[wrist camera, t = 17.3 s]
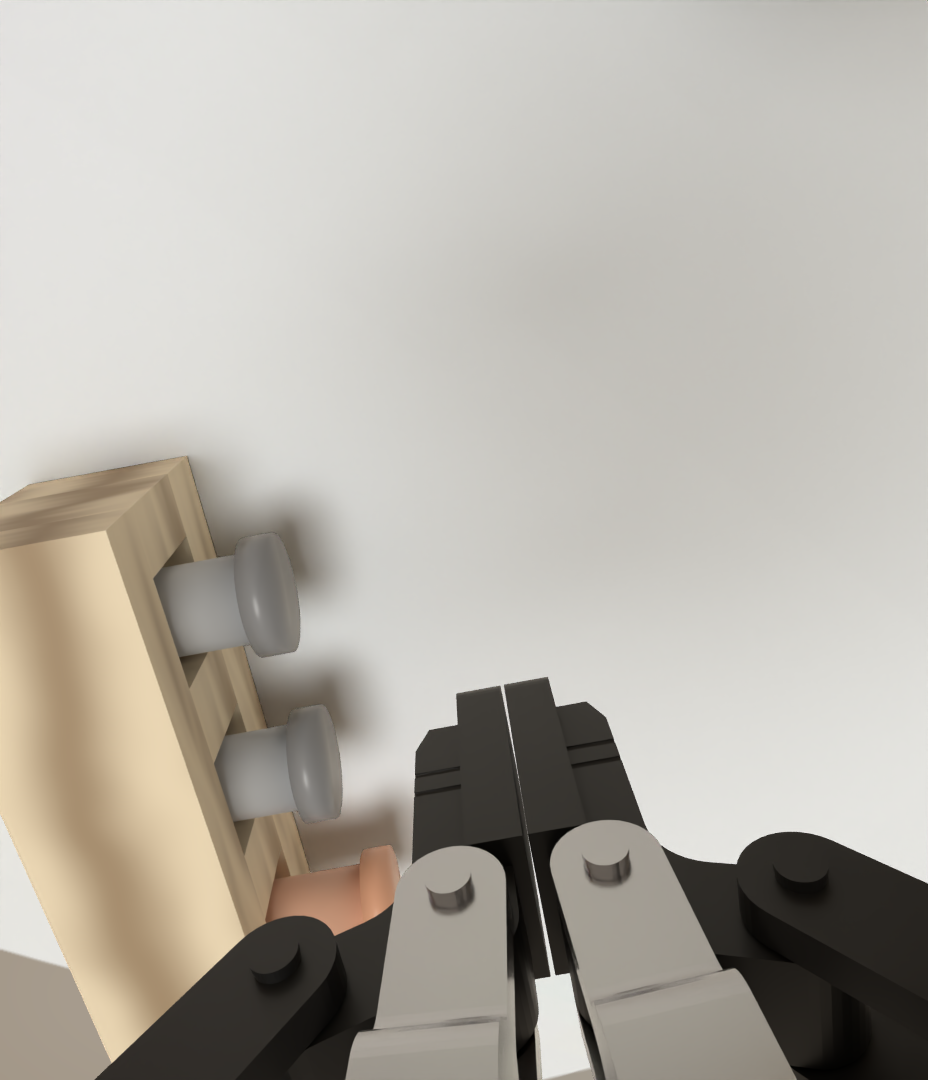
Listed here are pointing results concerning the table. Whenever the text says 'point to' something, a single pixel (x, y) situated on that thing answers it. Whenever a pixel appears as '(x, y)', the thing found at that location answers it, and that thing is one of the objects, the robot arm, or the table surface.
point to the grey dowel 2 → (283, 769)
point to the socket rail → (125, 745)
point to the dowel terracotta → (339, 891)
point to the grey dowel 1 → (233, 600)
